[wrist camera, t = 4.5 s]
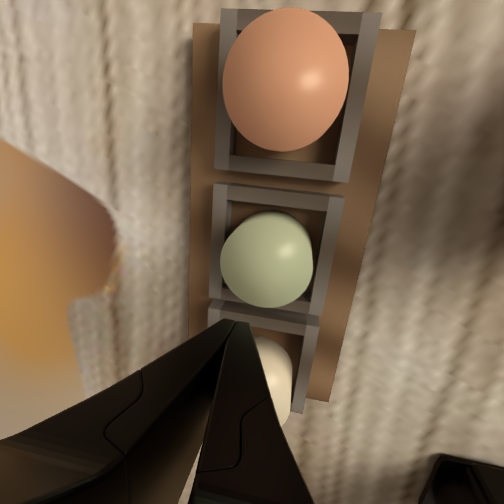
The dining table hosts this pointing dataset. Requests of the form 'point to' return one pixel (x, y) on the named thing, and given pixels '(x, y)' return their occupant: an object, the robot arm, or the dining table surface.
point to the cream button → (276, 374)
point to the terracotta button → (285, 79)
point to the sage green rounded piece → (268, 259)
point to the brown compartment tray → (293, 191)
